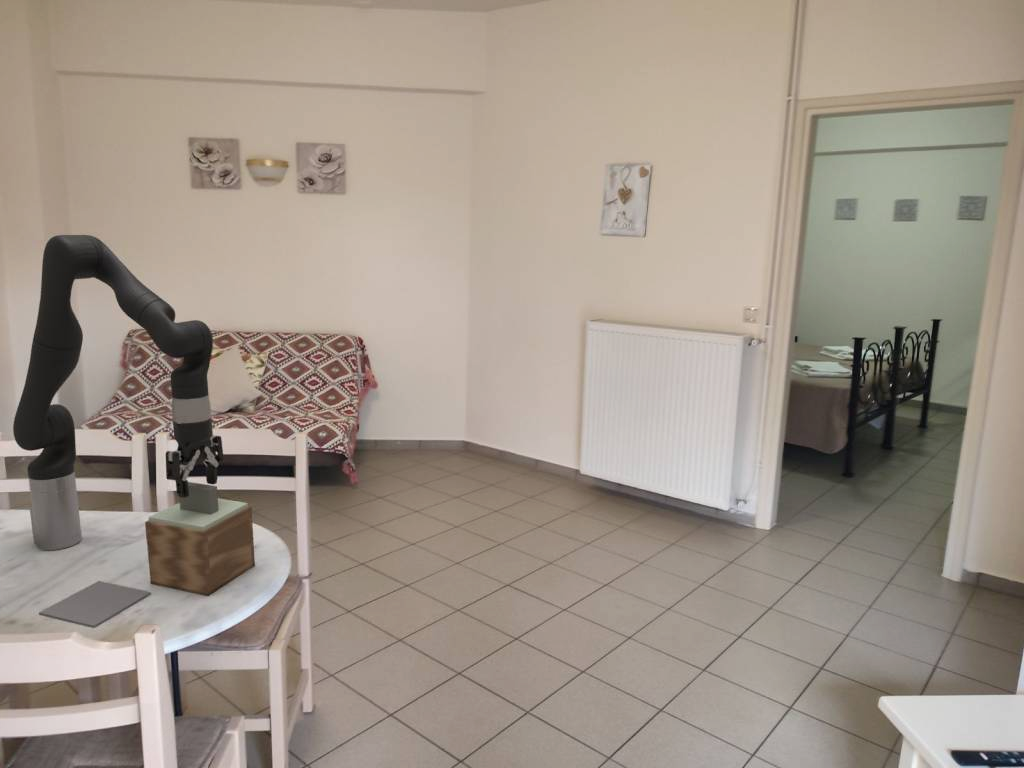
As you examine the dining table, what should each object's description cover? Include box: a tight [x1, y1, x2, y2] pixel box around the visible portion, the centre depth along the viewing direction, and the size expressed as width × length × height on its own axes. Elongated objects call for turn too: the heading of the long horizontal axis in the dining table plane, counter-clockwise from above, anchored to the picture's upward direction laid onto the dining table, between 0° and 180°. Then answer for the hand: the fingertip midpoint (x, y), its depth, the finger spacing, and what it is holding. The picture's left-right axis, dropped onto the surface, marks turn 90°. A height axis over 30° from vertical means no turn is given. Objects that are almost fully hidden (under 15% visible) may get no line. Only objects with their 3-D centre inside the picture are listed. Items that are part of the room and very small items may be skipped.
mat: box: [38, 580, 152, 629], centre depth 150 cm, size 14×14×1 cm
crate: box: [144, 505, 256, 597], centre depth 162 cm, size 15×15×14 cm
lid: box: [148, 481, 249, 531], centre depth 160 cm, size 14×14×8 cm
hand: (198, 490), depth 159 cm, fingers open, 8 cm apart
